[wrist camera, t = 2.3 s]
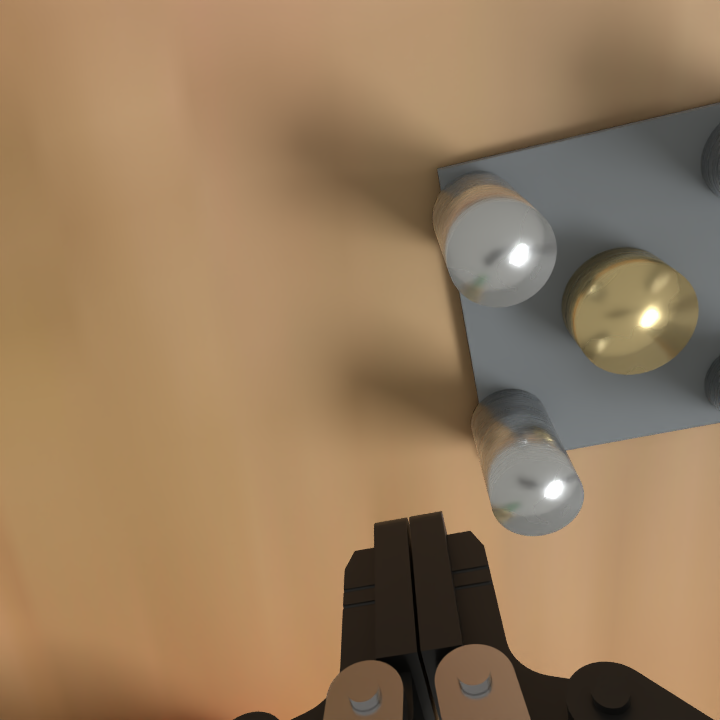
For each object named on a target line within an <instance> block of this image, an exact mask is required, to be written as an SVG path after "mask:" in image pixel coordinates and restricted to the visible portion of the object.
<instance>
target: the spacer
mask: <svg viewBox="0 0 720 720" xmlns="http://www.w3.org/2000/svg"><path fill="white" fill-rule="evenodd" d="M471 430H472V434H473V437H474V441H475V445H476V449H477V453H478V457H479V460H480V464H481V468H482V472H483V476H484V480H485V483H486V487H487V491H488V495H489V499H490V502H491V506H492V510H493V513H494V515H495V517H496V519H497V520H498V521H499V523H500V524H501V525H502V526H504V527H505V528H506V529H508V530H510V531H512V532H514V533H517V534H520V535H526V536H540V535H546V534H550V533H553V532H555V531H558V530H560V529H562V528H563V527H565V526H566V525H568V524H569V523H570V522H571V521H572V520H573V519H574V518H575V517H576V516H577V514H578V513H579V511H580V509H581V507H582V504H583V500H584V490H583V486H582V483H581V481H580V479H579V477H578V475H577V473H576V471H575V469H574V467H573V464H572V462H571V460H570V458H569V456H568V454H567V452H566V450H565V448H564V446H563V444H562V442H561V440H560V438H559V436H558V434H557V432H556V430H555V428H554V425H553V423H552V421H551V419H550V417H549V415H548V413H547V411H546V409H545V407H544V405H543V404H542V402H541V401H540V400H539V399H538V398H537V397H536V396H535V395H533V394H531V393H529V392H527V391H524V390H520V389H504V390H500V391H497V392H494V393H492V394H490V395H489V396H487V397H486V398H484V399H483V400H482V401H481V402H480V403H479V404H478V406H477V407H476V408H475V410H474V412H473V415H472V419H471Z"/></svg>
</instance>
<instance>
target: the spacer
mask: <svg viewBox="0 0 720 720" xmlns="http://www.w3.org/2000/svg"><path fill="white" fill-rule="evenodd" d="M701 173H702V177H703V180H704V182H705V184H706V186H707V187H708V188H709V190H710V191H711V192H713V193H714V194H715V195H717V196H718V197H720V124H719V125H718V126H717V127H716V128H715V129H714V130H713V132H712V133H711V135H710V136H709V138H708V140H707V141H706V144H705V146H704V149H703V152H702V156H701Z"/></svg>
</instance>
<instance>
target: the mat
mask: <svg viewBox="0 0 720 720" xmlns="http://www.w3.org/2000/svg"><path fill="white" fill-rule="evenodd" d="M719 124H720V102H719V103H715V104H710V105H706V106H702V107H698V108H693V109H689V110H685V111H681V112H676V113H672V114H668V115H663V116H659V117H655V118H651V119H646V120H642V121H638V122H634V123H629V124H625V125H621V126H617V127H612V128H608V129H604V130H600V131H595V132H591V133H587V134H582V135H578V136H574V137H570V138H565V139H561V140H557V141H553V142H548V143H544V144H540V145H536V146H531V147H527V148H523V149H518V150H514V151H510V152H506V153H501V154H497V155H493V156H489V157H484V158H480V159H476V160H472V161H467V162H463V163H459V164H455V165H450V166H446V167H442V168H437V171H438V177H439V183H440V188H441V191H442V190H443V188H444V187H445V186H446V185H447V184H448V183H449V182H451V181H452V180H453V179H455V178H457V177H458V176H461V175H463V174H466V173H469V172H477V171H482V172H489V173H492V174H495V175H497V176H499V177H501V178H503V179H504V180H505V181H506V182H508V183H509V184H510V185H511V186H512V187H513V188H514V189H515V190H516V191H517V192H518V193H519V194H520V195H521V196H522V197H523V198H525V199H526V200H527V201H528V202H529V203H530V204H531V205H532V206H533V207H534V208H535V209H536V210H537V211H538V212H539V213H540V214H541V215H542V216H543V217H544V218H545V219H546V220H547V221H548V223H549V224H550V226H551V228H552V230H553V232H554V235H555V239H556V244H557V255H556V261H555V265H554V268H553V271H552V273H551V275H550V277H549V279H548V280H547V282H546V283H545V284H544V286H543V287H542V288H541V289H540V290H539V291H538V292H537V293H536V294H534V295H533V296H532V297H530V298H529V299H527V300H525V301H523V302H521V303H518V304H516V305H512V306H508V307H497V308H495V307H487V306H482V305H479V304H477V303H474V302H473V301H471V300H469V299H468V298H466V297H465V296H464V295H463V294H462V293H461V292H459V294H460V300H461V306H462V311H463V317H464V322H465V328H466V333H467V339H468V345H469V350H470V356H471V361H472V367H473V373H474V378H475V384H476V389H477V395H478V400H479V403H480V402H481V401H482V400H483V399H484V398H486V397H487V396H489V395H490V394H492V393H494V392H497V391H500V390H504V389H520V390H524V391H527V392H529V393H531V394H533V395H535V396H536V397H537V398H538V399H539V400H540V401H541V402H542V404H543V405H544V407H545V409H546V411H547V413H548V415H549V417H550V419H551V421H552V423H553V425H554V428H555V430H556V432H557V434H558V436H559V438H560V440H561V442H562V444H563V446H564V448H565V450H571V449H577V448H582V447H588V446H593V445H599V444H604V443H610V442H615V441H621V440H626V439H632V438H637V437H643V436H648V435H654V434H660V433H665V432H671V431H676V430H682V429H687V428H693V427H698V426H704V425H709V424H715V423H720V412H719V411H718V410H717V408H716V407H715V406H714V405H713V404H712V403H711V402H710V401H709V400H708V398H707V396H706V394H705V389H704V381H705V376H706V373H707V371H708V369H709V367H710V366H711V364H712V363H713V362H714V361H715V359H716V358H717V357H718V356H719V355H720V197H718V196H717V195H715V194H714V193H713V192H711V191H710V190H709V188H708V187H707V186H706V184H705V182H704V180H703V177H702V173H701V156H702V152H703V149H704V146H705V144H706V141H707V140H708V138H709V136H710V135H711V133H712V132H713V130H714V129H715V128H716V127H717V126H718V125H719ZM621 247H631V248H638V249H642V250H645V251H647V252H650V253H651V254H653V255H655V256H656V257H658V258H659V259H661V260H662V261H663V262H665V263H666V264H668V265H669V266H670V267H672V268H673V269H675V270H676V271H678V272H679V273H680V274H681V275H683V276H684V277H685V278H686V279H687V280H688V281H689V282H690V284H691V285H692V287H693V289H694V291H695V293H696V296H697V300H698V307H699V312H698V320H697V325H696V327H695V330H694V333H693V335H692V337H691V338H690V340H689V342H688V343H687V345H686V346H685V347H684V348H683V349H682V351H681V352H680V353H679V354H678V355H676V356H675V357H674V358H673V359H672V360H670V361H669V362H667V363H666V364H664V365H662V366H660V367H658V368H656V369H654V370H651V371H648V372H645V373H641V374H633V375H622V374H615V373H611V372H608V371H605V370H603V369H601V368H599V367H597V366H596V365H595V364H593V363H592V362H591V361H590V360H589V359H588V358H587V357H586V355H585V354H584V353H583V351H582V350H581V348H580V347H579V346H578V344H577V343H576V341H575V340H574V339H573V337H572V336H571V334H570V333H569V331H568V330H567V328H566V326H565V324H564V321H563V317H562V310H561V304H562V297H563V293H564V290H565V288H566V285H567V283H568V281H569V280H570V278H571V277H572V275H573V274H574V272H575V271H576V270H577V269H578V268H579V267H580V266H581V265H582V264H583V263H584V262H586V261H587V260H589V259H590V258H591V257H593V256H595V255H597V254H599V253H601V252H604V251H606V250H610V249H614V248H621Z"/></svg>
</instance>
